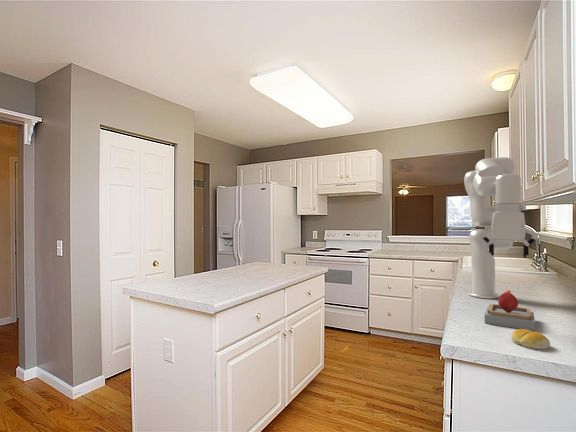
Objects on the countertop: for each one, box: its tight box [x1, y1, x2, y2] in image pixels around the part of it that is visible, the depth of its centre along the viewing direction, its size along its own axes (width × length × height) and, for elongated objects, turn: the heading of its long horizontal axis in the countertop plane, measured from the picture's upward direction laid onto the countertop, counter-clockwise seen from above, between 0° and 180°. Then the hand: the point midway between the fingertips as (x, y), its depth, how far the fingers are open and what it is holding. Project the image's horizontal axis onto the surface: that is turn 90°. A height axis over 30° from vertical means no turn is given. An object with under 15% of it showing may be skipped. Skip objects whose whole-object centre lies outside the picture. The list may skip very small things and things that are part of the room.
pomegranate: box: [497, 289, 519, 313], centre depth 115 cm, size 6×6×8 cm
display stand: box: [484, 303, 536, 332], centre depth 115 cm, size 14×14×4 cm
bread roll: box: [510, 328, 551, 350], centre depth 94 cm, size 8×9×4 cm
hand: (508, 256), depth 117 cm, fingers open, 9 cm apart
